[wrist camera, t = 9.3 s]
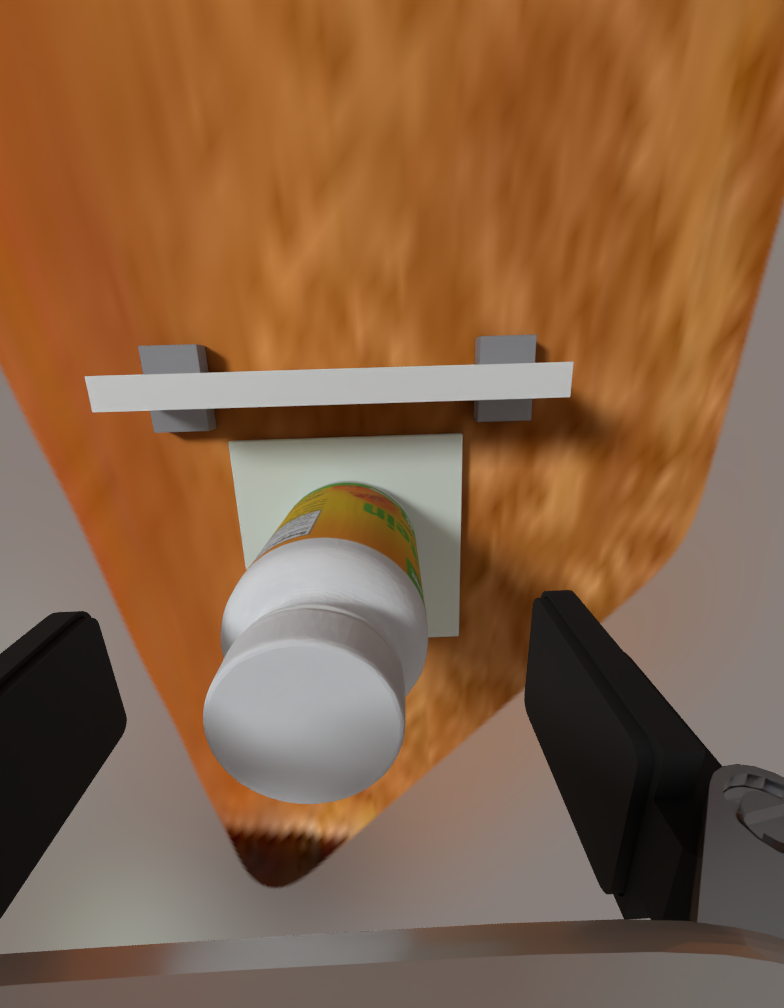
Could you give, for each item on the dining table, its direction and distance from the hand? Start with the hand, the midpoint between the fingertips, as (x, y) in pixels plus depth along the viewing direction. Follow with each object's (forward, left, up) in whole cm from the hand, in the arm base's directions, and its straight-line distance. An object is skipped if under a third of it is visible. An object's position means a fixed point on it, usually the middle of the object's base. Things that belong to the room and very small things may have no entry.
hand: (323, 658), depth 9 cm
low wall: (-6, 0, -9) cm, 11 cm away
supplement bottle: (+1, 0, -9) cm, 9 cm away
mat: (+1, 0, -9) cm, 9 cm away
